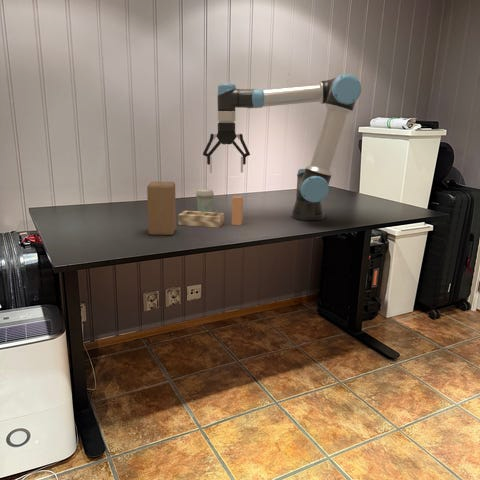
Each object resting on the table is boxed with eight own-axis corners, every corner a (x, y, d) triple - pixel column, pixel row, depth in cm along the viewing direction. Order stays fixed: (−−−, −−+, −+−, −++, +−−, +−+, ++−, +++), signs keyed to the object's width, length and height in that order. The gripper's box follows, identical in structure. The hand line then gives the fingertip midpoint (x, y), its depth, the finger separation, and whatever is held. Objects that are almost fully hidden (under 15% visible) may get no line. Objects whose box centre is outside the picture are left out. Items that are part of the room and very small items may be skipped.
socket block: (223, 222, 208) (223, 213, 206) (219, 227, 199) (219, 217, 198) (184, 220, 211) (184, 210, 209) (178, 224, 202) (178, 214, 201)
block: (176, 229, 194) (175, 181, 189) (173, 235, 185) (172, 185, 179) (151, 229, 194) (150, 181, 189) (148, 235, 184) (146, 184, 179)
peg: (242, 223, 208) (242, 196, 205) (240, 225, 204) (241, 198, 201) (233, 222, 209) (233, 196, 206) (231, 224, 205) (232, 197, 202)
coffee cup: (197, 217, 217) (197, 191, 214) (194, 213, 225) (194, 188, 222) (215, 216, 219) (215, 191, 216) (211, 213, 227) (211, 188, 224)
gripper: (254, 122, 204) (253, 171, 209) (196, 121, 201) (197, 171, 207) (256, 122, 196) (255, 173, 202) (197, 122, 194) (197, 173, 199)
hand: (226, 172), depth 204 cm, fingers open, 13 cm apart
